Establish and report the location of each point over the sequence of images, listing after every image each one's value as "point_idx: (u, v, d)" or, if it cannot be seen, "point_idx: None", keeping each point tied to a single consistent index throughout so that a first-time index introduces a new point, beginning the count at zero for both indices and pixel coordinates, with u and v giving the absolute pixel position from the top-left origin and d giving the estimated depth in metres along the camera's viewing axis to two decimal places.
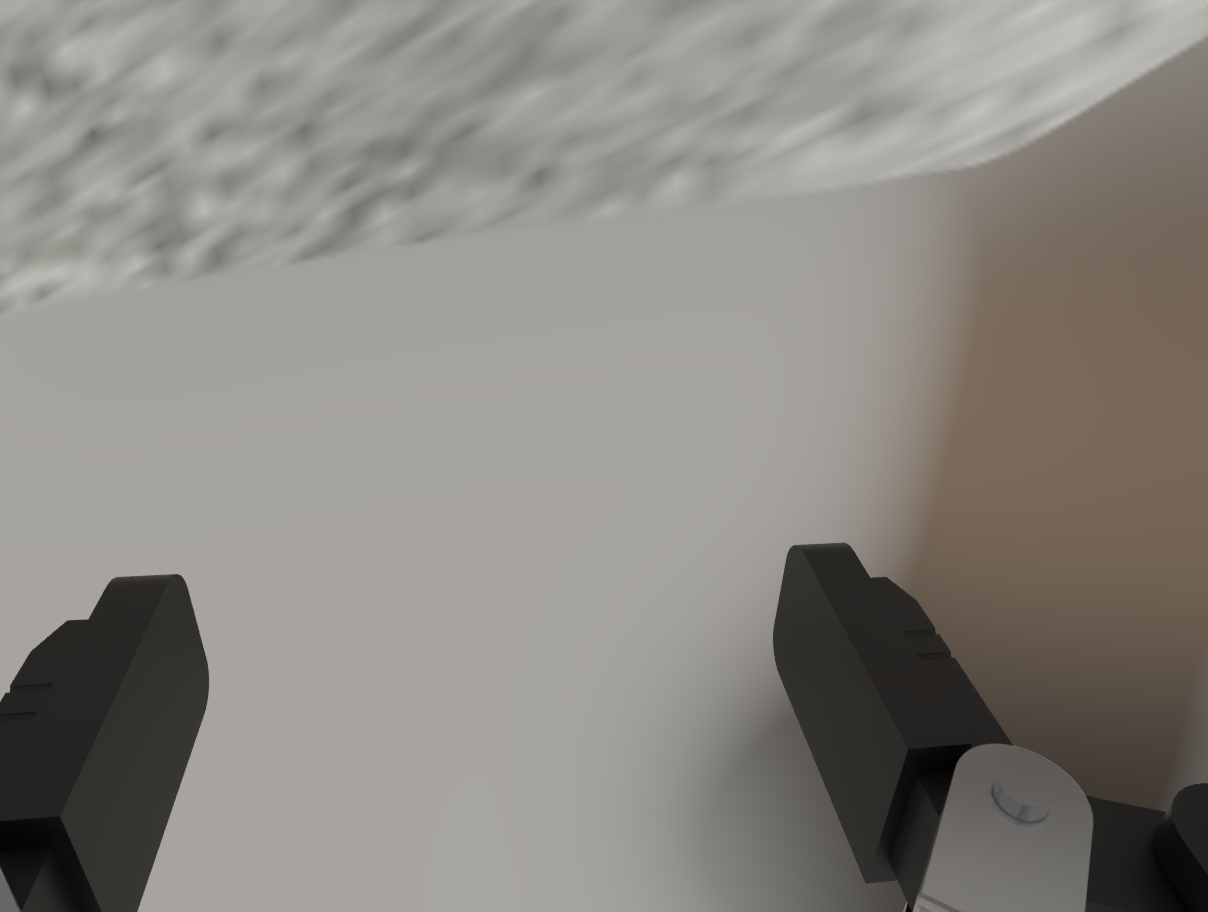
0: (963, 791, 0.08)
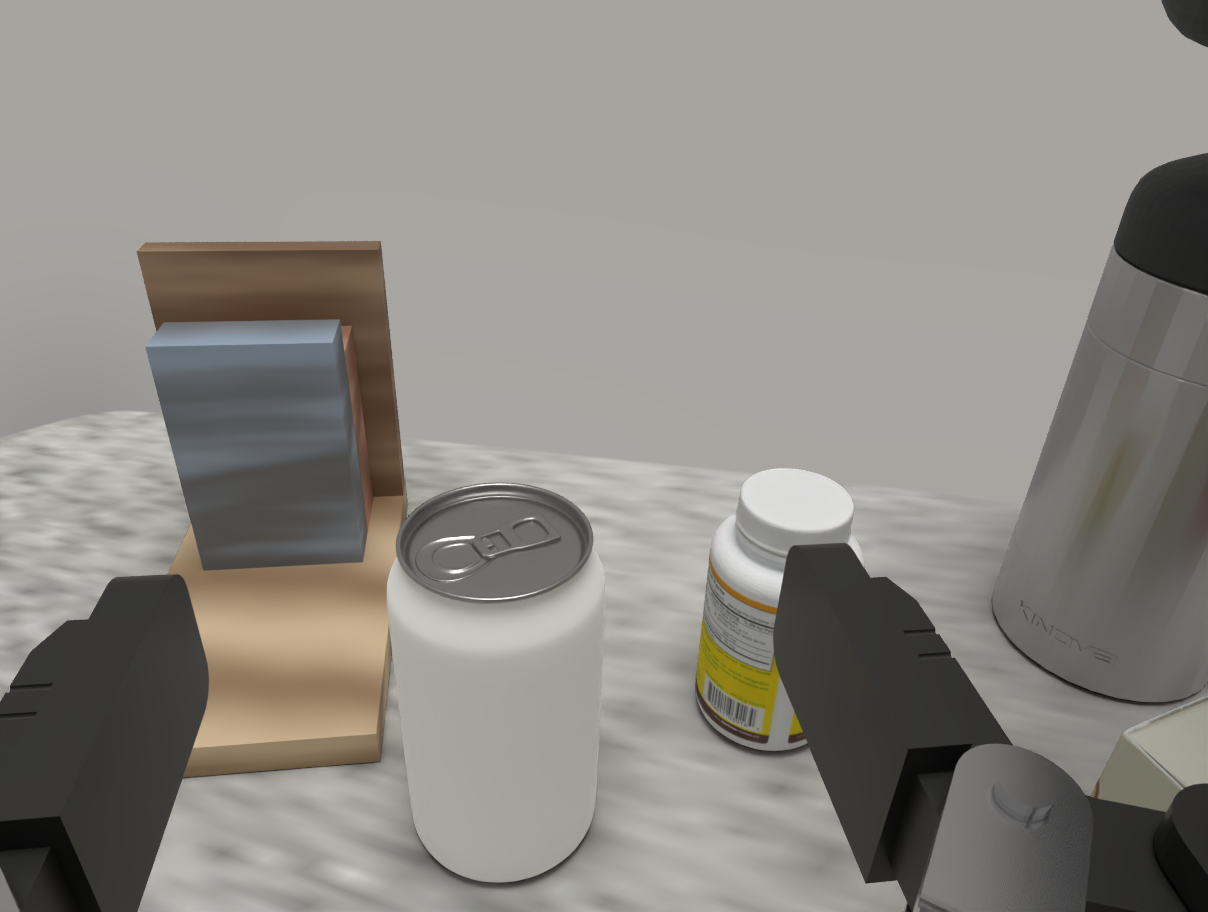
0: (962, 792, 0.08)
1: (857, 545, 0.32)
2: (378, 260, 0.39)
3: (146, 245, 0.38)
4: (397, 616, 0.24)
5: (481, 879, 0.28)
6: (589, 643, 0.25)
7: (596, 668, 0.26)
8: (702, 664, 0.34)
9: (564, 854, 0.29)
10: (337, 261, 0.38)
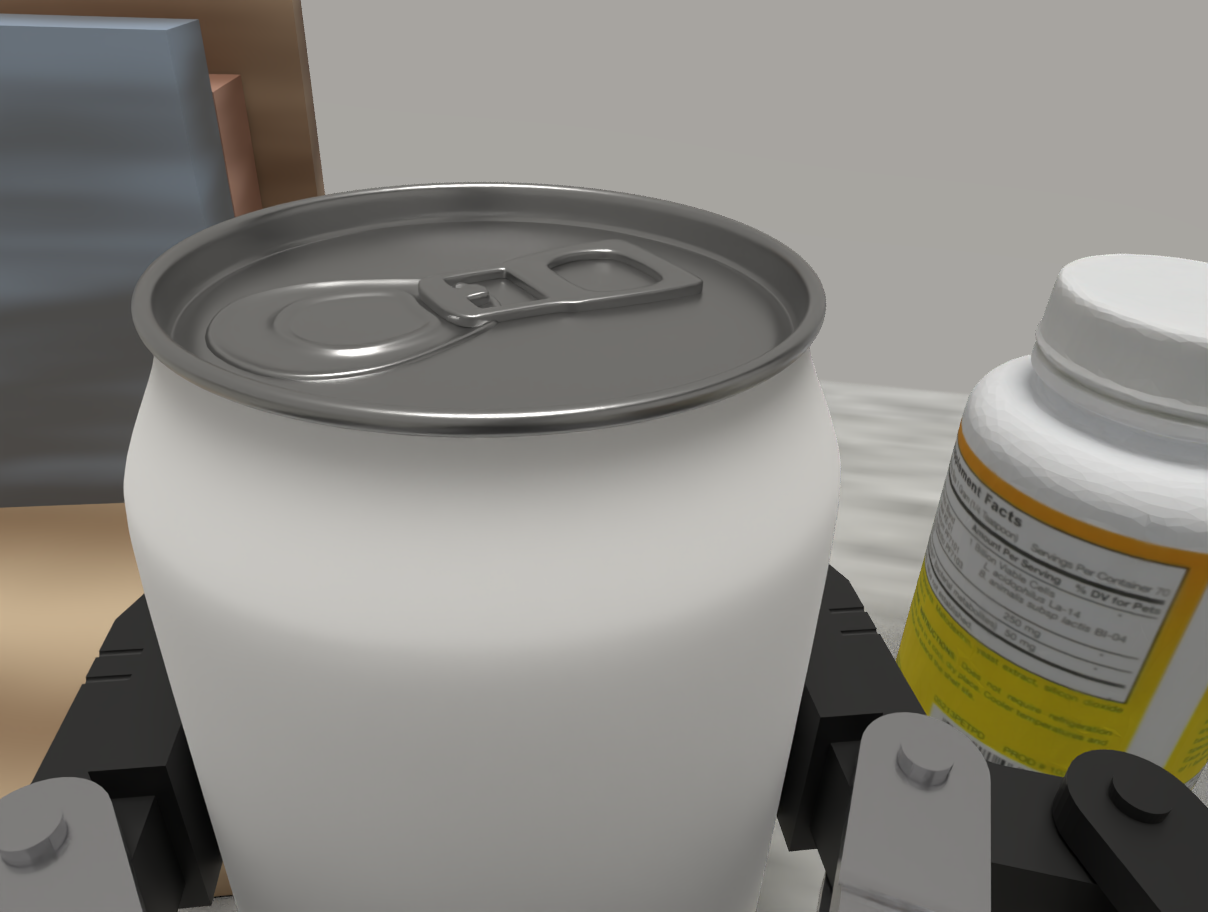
0: (867, 756, 0.08)
1: None
2: None
3: None
4: (131, 522, 0.07)
5: None
6: (809, 624, 0.07)
7: (799, 705, 0.09)
8: (923, 684, 0.16)
9: None
10: None
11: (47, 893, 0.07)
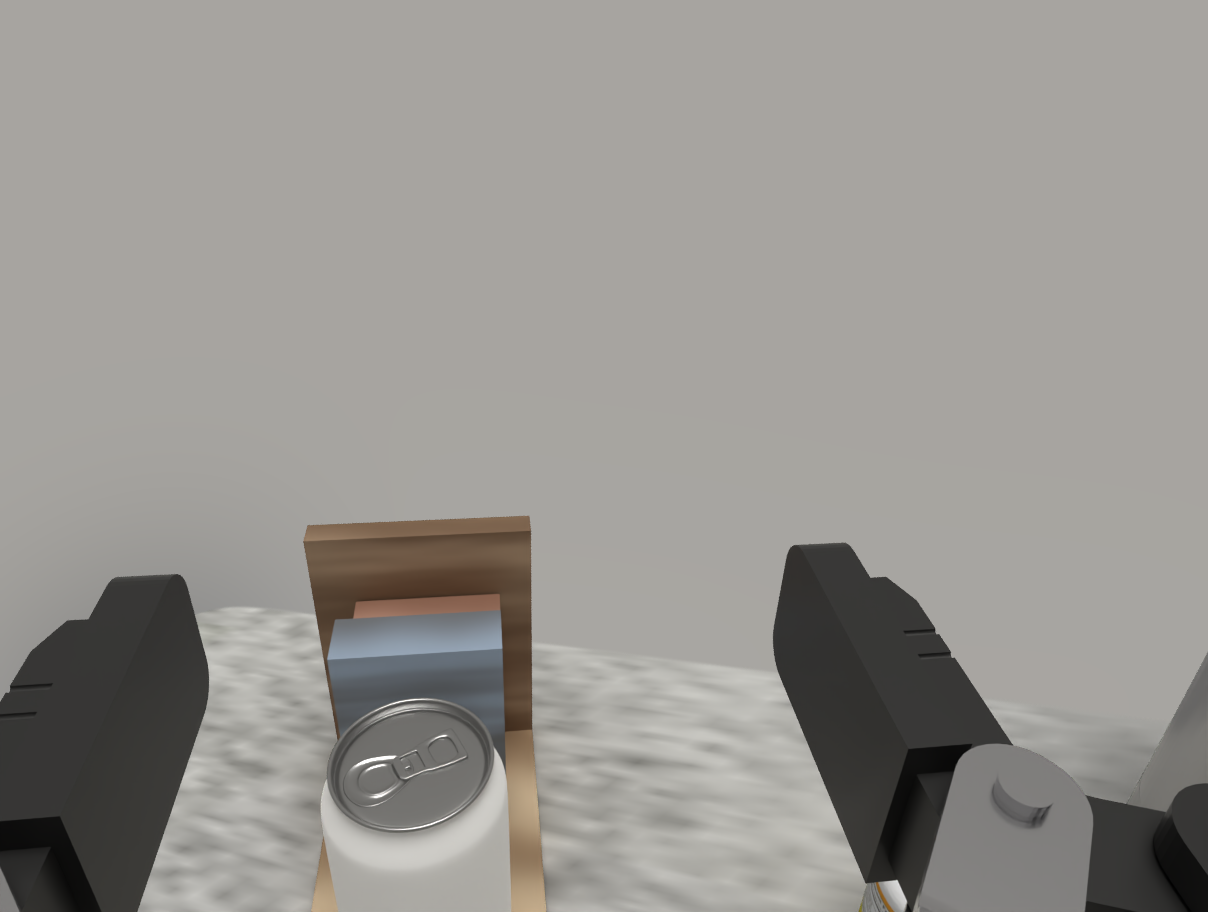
0: (962, 791, 0.08)
1: None
2: (529, 539, 0.40)
3: (309, 530, 0.39)
4: (326, 832, 0.29)
5: None
6: (490, 849, 0.30)
7: (499, 863, 0.31)
8: None
9: None
10: (491, 541, 0.40)
11: None
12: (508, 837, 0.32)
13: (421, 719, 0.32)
